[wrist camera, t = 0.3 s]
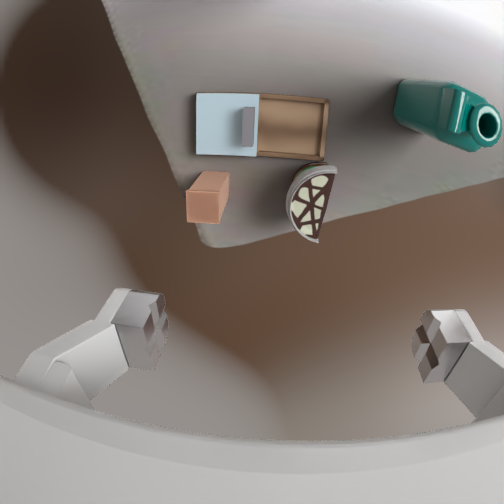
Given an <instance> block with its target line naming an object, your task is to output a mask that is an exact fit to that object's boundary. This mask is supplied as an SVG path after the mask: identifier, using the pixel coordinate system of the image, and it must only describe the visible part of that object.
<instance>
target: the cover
mask: <svg viewBox="0 0 504 504" xmlns="http://www.w3.org/2000/svg"><path fill="white" fill-rule="evenodd" d="M258 113H259V94H241V93H197V97H196V154H210V155H238V156H256V155H257V134H258Z"/></svg>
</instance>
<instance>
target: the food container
mask: <svg viewBox="0 0 504 504" xmlns="http://www.w3.org/2000/svg"><path fill="white" fill-rule="evenodd" d="M335 174H338V173H337V168H336V166H331V165H328V164H327V163H325V162H314V163H309V164H307V165H305V166H303V167H302V168H301V169H300V170H298V171H297V172H296V174H295V176H294V178H293V180H292V184H291V186H290V188H289V190H288V193H287V196H286V212H287V215H288V218H289V220H290V222H291V224H292V225H293V227H294V228H295V229H296V230H297V232H298V233H300V234H301V235H302V236H303V237H305V238H307V239H308V240H311V241H313V242H317V243H318V236H319V231H320V228H321V224H322V221H323V217H324V214H325V211H326V208H327V204H328V199H329V196H330V192H331V188H332V184H333V180H334V176H335Z"/></svg>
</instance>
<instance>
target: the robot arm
mask: <svg viewBox="0 0 504 504" xmlns="http://www.w3.org/2000/svg"><path fill="white" fill-rule="evenodd" d="M164 307H165V299H164V295H162V294H161V293H154V292H147V291H140V290H133V289H132V290H131V289H125V288H116V289H115V290H114V291H113V293H112V294H111V296H110V297H109V299H108V300H107V302H106V303H105V305H104V306H103V308H102V309H101V311H100V312H99V314H98V316H97V317H96V319H95V320H89V321H87V322H85V323H83V324H82V325H80V326H78V327H76V328H74V329H73V330H71V331H69V332H67V333H65V334H64V335H62V336H60V337H58V338H56V339H54V340H52V341H51V342H49V343H47V344H45V345H43V346H42V347H40V348H38V349H36V350H34V351H33V352H31V354H30V355H29V357H28V359H27V360H26V361H25V363H24V365H23V366H22V368H21V369H20V371H19V373H18V374H17V376H16V377H15V379H14V380H11V379H9V378H6V377H4V376H2V375H0V504H504V353H503V352H502V351H500V350H499V349H498V348H496V347H495V346H493V345H492V344H491V343H489V342H488V341H484V340H483V338H482V336H481V335H480V333H479V331H478V330H477V328H476V326H475V324H474V323H473V321H472V319H471V318H470V316H469V315H468V313H467V312H466V311H465V310H464V309H452V310H426V311H425V312H424V313H423V315H422V317H421V319H420V320H421V323H422V325H421V326H420V327H418V328H417V329H416V331H415V333H414V335H413V337H412V352H413V355H414V358H416V359H417V360H418V361H419V362H420V364H419V366H418V369H419V372H420V375H421V378H422V380H423V383H432V382H444V383H445V384H446V385H447V386H448V387H449V389H450V390H451V391H452V392H453V393H454V394H455V395H456V396H457V397H458V398H459V400H460V401H461V402H462V403H463V404H464V405H465V406H466V407H467V408H468V409H469V410H470V412H471V413H472V414H473V415H474V416H475V417H476V418H475V419H474V420H473V421H472V422H471V423H470V424H465V425H461V426H456V427H451V428H446V429H440V430H435V431H429V432H422V433H416V434H409V435H402V436H392V437H384V438H372V439H358V440H337V441H285V440H284V441H283V440H263V439H249V438H237V437H228V436H219V435H211V434H203V433H197V432H190V431H184V430H178V429H173V428H167V427H162V426H156V425H152V424H147V423H143V422H138V421H133V420H129V419H126V418H122V417H118V416H114V415H110V414H107V413H103V412H99V411H96V410H95V409H94V407H93V406H92V404H91V403H90V400H92V399H93V398H94V397H96V396H97V395H98V394H99V393H100V392H101V391H103V390H104V389H105V388H106V387H108V386H109V385H110V384H111V383H112V382H113V381H115V380H116V379H117V378H118V377H120V376H121V375H122V374H123V373H124V372H126V371H127V370H128V369H129V367H131V368H137V369H143V370H149V371H155V369H156V366H157V363H158V361H159V358H160V350H159V348H160V347H162V346H163V345H164V344H165V342H166V339H167V334H168V317H167V315H166V314H165V313H164V312H163V309H164Z"/></svg>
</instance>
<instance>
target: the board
mask: <svg viewBox="0 0 504 504" xmlns="http://www.w3.org/2000/svg"><path fill="white" fill-rule="evenodd" d="M198 93H236V92H198ZM241 94H259V113H258V134H257V155H256V156H269V157H283V158H295V159H306V160H317V161H323V160H324V151H325V141H326V131H327V121H328V110H329V100H328V99H321V98H312V97H302V96H292V95H279V94H262V93H241ZM196 97H197V93H196Z"/></svg>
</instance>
